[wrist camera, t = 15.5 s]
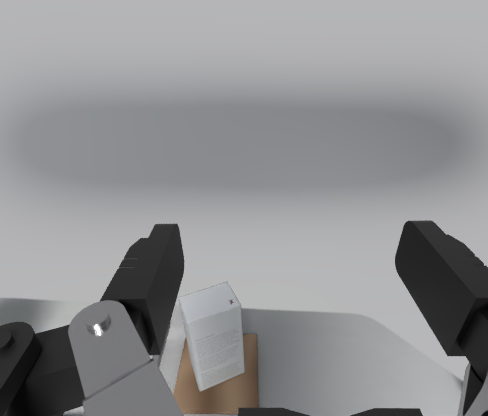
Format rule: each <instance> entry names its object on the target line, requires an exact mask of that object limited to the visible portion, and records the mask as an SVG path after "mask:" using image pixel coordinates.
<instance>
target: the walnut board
mask: <svg viewBox="0 0 488 416" xmlns="http://www.w3.org/2000/svg"><path fill="white" fill-rule="evenodd" d="M243 349H244V368H245V372H244V373H242V374H240V375H238V376H235V377H233V378H231V379H228V380H226V381H224V382H221V383H219V384H217V385H215V386H212V387H210V388H208V389H206V390H203V391H201V392H200V391H199V388H198V385H197V381H196V378H195V374H194V371H193V367H192V364H191V360H190V354H189V349H188V344H187V339H185V343H184V348H183V353H182V358H181V362H180V367H179V372H178V377H177V381H176V386H175V391H174V395H173V396H174V398H175V400H176V402H177V404H178V406H179V408H180V410H181V412H182V414H238V408H258V373H257V334H243Z"/></svg>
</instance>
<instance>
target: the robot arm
mask: <svg viewBox="0 0 488 416" xmlns="http://www.w3.org/2000/svg"><path fill="white" fill-rule="evenodd" d="M395 265H396V270H397V273H398V274H399V276H400V278H401V279H402V281H403V283H404V284H405V286H406V288H407V289H408V291H409V293H410V294H411V296H412V298H413V299H414V301H415V303H416V304H417V306H418V307H419V309H420V311H421V312H422V314H423V316H424V317H425V319H426V321H427V323H428V324H429V326H430V327H431V329H432V331H433V332H434V334H435V336H436V337H437V339H438V341H439V342H440V344H441V346H442V347H443V349H444V350H445V352H446V354H447V356H466V358H467V359H468V360H469V364H468V366H467V368H466V370H465V376H464V382H463V387H462V393H461V398H460V404H459V410H458V415H457V416H488V267H487V266H484V263H483V262H482V261H481V260H479V258H478V257H475V254H474V253H473V252H472V251H470V249H469V248H468V247H467V246H466V245H465V244H464V243H462V242H460V241H458V240H457V239H455V238H453V237H452V236H450V235H446V234H445V233H444V232H443V231H442V230H441V229H440V228H439V227H438V226H437V225H436V224H435V223H434V222H433V221H407V222H406V223H405V225H404V227H403V231H402V234H401V238H400V242H399V245H398V249H397V252H396V257H395ZM183 273H184V256H183V250H182V244H181V238H180V232H179V227H178V225H177V224H156V225H155V226H154V228H153V230H152V232H151V234H150V236H149V238H140V239H139V240H138V241H137V242H136V243H134V244H133V245H132V246H131V247H130V248H129V250H128V252H127V253H126V255H125V257H124V260H123V261H122V262H121V264H120V266H119V269H118V270H117V271H116V273H115V275H114V277H113V278H112V280H111V282H110V284H109V286H108V287H107V289H106V291H105V293H104V295H103V296H102V298H101V300H100V302H97V303H94V304H92V305H90V306H88V307H86V308H84V309H83V310H82V311H80V312H79V313H78V314H77V315H76V316H75V317H74V319H73V320H72V321H71V323H70V325H67V326H63V327H60V328H56V329H52V330H48V331H44V332H41V333H37V334H35V332H34V330H33V328H32V327H31V326H30V325H29V324H27V323H24V322H14V323H9V324H5V325H2V326H0V416H63V414H64V412H65V411H68V410H71V409H74V408H77V407H81V406H83V408H84V412H85V416H183V414H182V412H181V410H180V408H179V406H178V404H177V402H176V400H175V398H174V396H173V394H172V392H171V390H170V388H169V386H168V384H167V383H166V381H165V379H164V377H163V375H162V373H161V371H160V369H159V367H158V365H157V363H156V362H155V360H154V359H151V358H150V356H149V355H161V352H162V349H163V345H164V342H165V338H166V334H167V331H168V327H169V324H170V320H171V316H172V313H173V309H174V306H175V302H176V299H177V294H178V291H179V287H180V284H181V281H182V277H183ZM238 416H309V415H306V414H302V413H299V412H295V411H291V410H288V409H284V408H238ZM351 416H423V415H422V413H421V411H420V409H402V408H374V409H371V410H367V411H364V412H361V413H358V414H354V415H351Z"/></svg>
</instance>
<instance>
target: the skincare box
mask: <svg viewBox="0 0 488 416" xmlns="http://www.w3.org/2000/svg"><path fill="white" fill-rule="evenodd" d="M179 303H180V308H181V313H182V318H183V324H184V329H185V334H186V339H187V344H188V349H189V354H190V360H191V364H192V367H193V371H194V374H195V378H196V381H197V385H198V388H199V391H200V392H201V391H203V390H206V389H208V388H210V387H212V386H215V385H217V384H219V383H221V382H224V381H226V380H228V379H231V378H233V377H235V376H238V375H240V374H242V373H244V372H245V368H244V349H243V330H242V313H241V304H240V303H239V301H238V299H237V297H236V296H235V294H234V292H233V291H232V289H231V287H230V286H229V284H228V282H224V283H221V284H219V285H216V286H212V287H210V288H206V289H203V290H200V291H197V292H194V293H191V294H188V295H185V296H182V297H179Z"/></svg>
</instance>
